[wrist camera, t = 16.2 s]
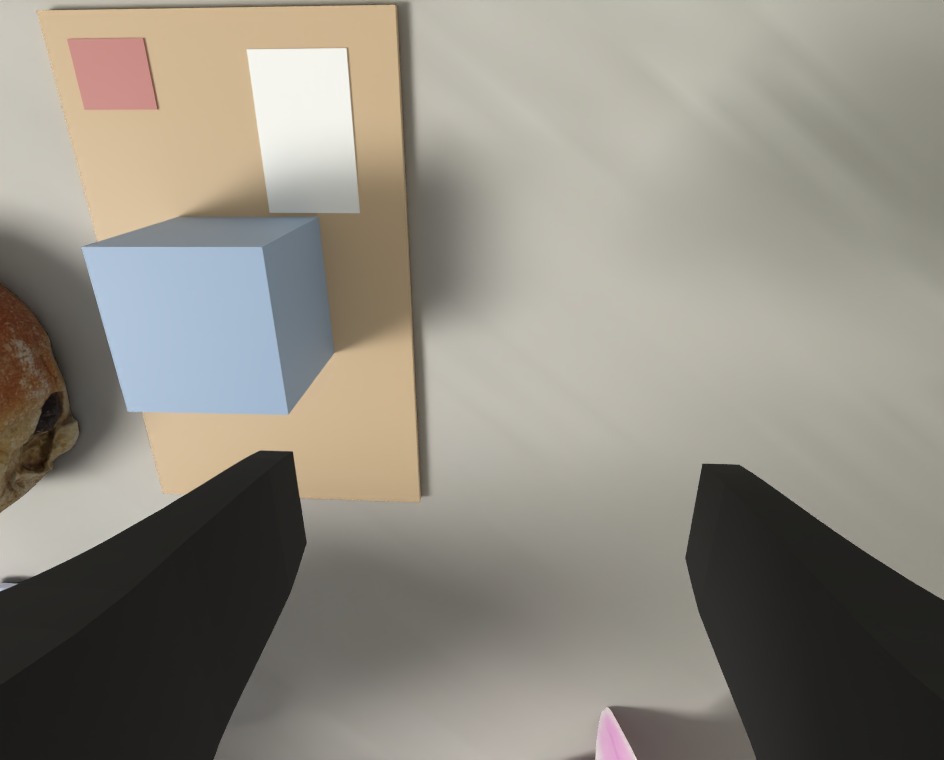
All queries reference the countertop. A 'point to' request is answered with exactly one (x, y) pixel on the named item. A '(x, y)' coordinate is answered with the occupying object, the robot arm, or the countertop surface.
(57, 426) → the bread roll
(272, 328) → the blue cube
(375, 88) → the envelope
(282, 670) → the countertop surface
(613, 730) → the lily
